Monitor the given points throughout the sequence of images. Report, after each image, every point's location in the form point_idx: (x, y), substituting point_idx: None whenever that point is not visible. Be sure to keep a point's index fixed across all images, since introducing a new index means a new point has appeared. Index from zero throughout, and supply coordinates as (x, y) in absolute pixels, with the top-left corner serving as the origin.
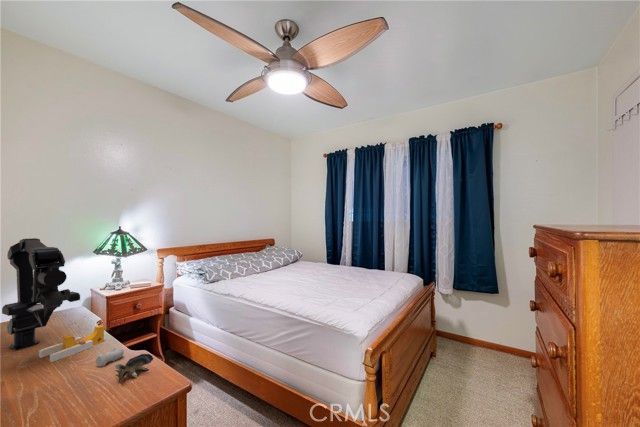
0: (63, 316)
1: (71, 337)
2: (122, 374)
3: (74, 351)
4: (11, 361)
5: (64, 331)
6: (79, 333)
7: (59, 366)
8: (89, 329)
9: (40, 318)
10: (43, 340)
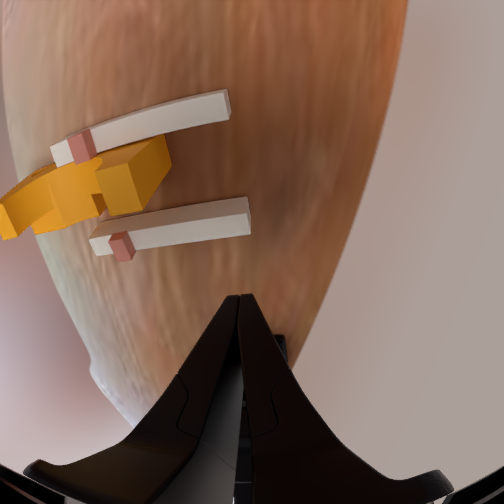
0: None
1: (104, 166)
2: None
3: (127, 114)
4: (324, 258)
5: (157, 365)
6: (116, 323)
7: (215, 5)
8: (92, 329)
9: (287, 374)
10: None
